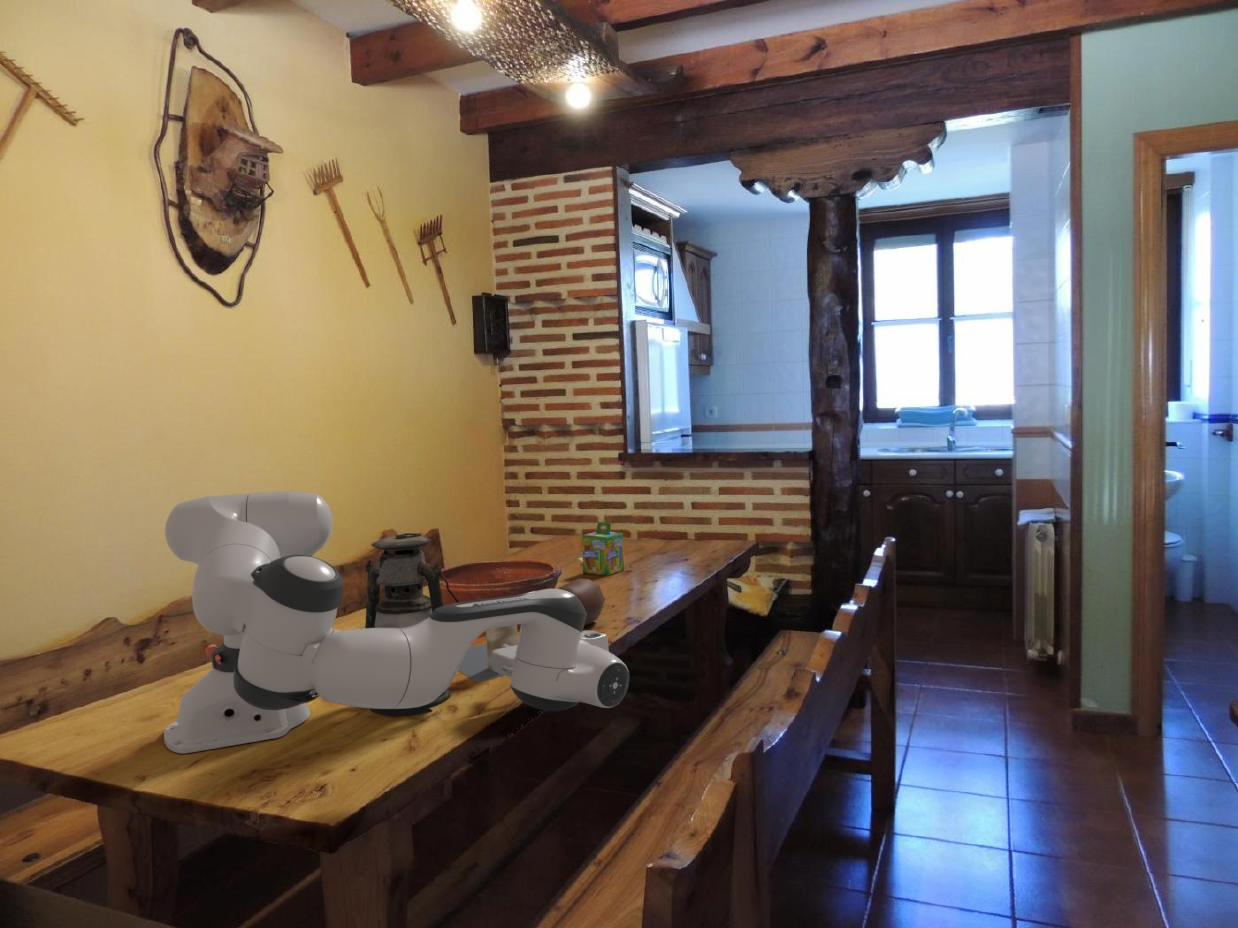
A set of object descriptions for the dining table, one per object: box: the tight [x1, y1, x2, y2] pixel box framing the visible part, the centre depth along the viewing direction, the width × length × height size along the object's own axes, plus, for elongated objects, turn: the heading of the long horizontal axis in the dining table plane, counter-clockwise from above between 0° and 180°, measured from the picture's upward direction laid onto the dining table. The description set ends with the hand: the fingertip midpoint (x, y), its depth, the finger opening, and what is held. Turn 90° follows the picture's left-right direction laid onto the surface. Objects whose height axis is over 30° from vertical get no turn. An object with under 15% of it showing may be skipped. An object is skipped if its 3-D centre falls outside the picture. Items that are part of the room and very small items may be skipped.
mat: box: [457, 643, 505, 683], centre depth 177 cm, size 16×22×1 cm
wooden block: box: [485, 625, 519, 671], centre depth 172 cm, size 6×2×12 cm, turn 123°
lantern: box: [364, 532, 460, 718], centre depth 157 cm, size 19×19×30 cm
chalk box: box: [581, 521, 625, 577], centre depth 261 cm, size 9×9×15 cm
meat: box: [557, 578, 606, 627], centre depth 202 cm, size 20×12×10 cm, turn 156°
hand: (529, 642), depth 162 cm, fingers open, 8 cm apart
